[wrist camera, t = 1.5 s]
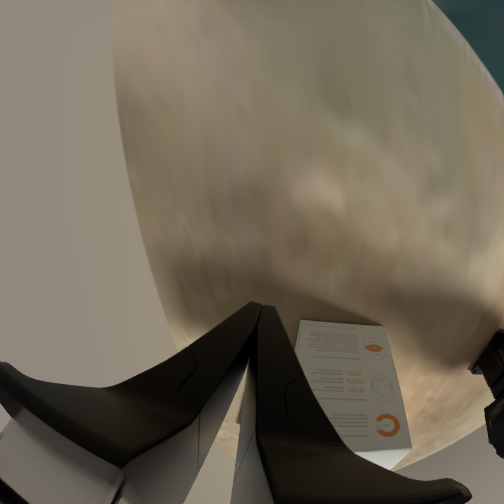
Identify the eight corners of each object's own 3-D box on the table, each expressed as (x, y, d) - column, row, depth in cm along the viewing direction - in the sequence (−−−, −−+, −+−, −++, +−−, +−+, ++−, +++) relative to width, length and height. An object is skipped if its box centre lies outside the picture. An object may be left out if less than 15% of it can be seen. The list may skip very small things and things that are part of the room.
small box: (291, 365, 27) (274, 481, 16) (299, 317, 25) (285, 449, 13) (366, 371, 26) (377, 482, 14) (385, 324, 23) (415, 448, 12)
